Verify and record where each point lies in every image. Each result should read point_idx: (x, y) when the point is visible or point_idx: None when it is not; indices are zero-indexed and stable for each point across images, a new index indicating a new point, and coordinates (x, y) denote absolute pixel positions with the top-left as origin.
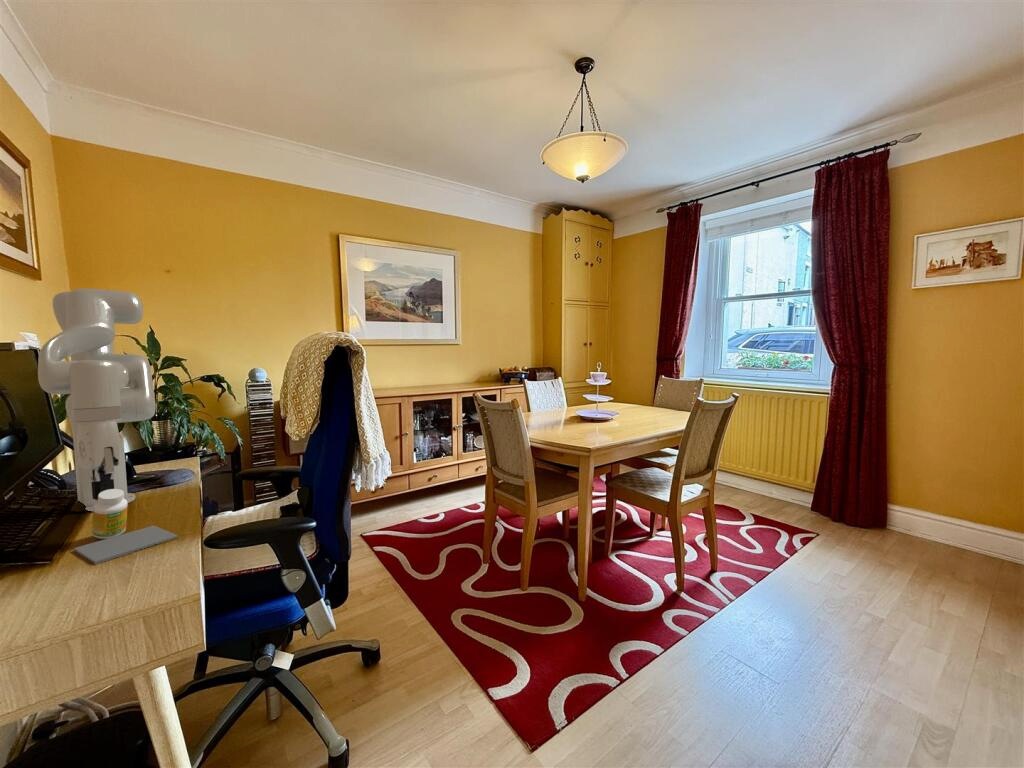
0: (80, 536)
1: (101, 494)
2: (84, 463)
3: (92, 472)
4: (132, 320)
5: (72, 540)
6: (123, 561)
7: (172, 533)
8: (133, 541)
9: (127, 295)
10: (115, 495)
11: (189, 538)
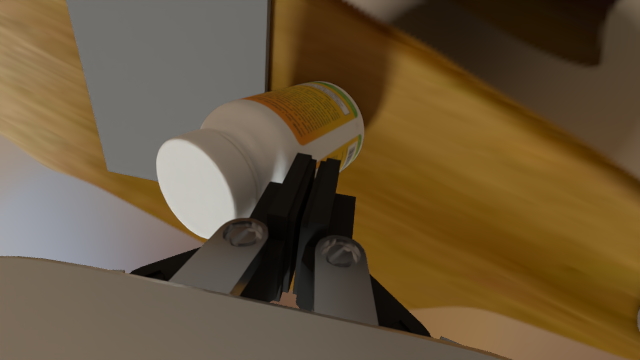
0: (429, 82)
1: (199, 161)
2: (147, 358)
3: (313, 297)
4: None
5: (412, 48)
6: (36, 18)
7: (137, 176)
8: (158, 106)
9: None
10: (174, 191)
11: (90, 174)
